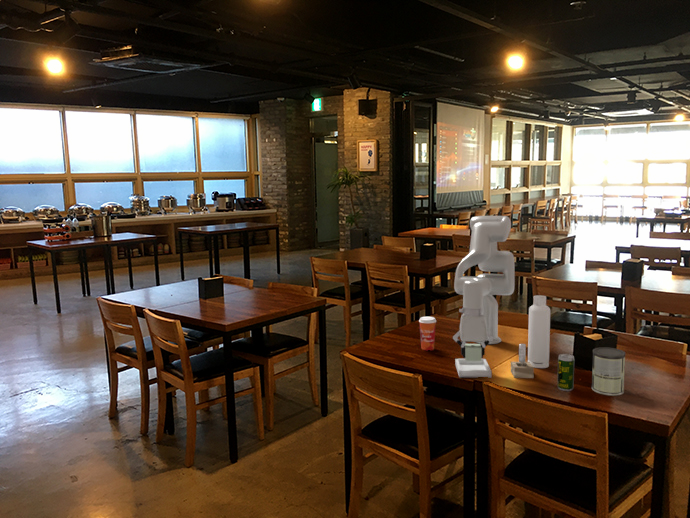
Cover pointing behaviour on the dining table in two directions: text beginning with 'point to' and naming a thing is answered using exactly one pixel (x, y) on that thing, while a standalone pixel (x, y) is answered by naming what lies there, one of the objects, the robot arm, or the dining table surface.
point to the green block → (473, 352)
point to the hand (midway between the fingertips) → (472, 356)
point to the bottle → (539, 333)
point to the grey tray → (473, 368)
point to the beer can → (565, 372)
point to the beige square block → (522, 370)
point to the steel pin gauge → (522, 354)
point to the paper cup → (427, 332)
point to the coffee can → (608, 371)
